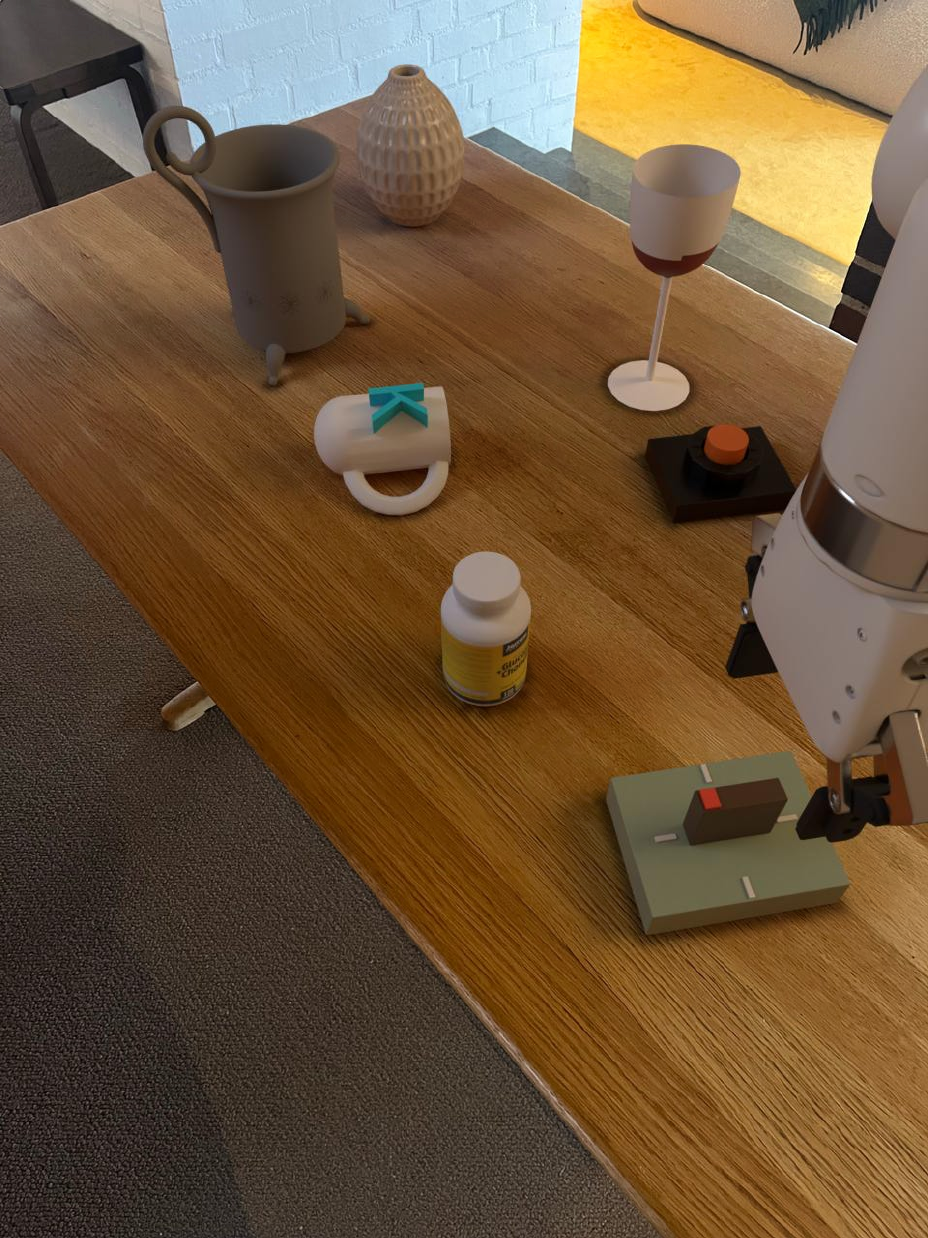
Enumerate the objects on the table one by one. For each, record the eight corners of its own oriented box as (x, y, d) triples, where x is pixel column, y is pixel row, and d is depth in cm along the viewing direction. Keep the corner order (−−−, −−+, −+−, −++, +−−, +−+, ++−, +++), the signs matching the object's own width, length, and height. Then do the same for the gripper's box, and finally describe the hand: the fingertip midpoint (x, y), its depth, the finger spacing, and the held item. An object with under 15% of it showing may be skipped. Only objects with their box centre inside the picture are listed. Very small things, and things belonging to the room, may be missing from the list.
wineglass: (587, 393, 97) (613, 178, 80) (632, 347, 102) (666, 134, 84) (665, 425, 93) (709, 208, 76) (708, 375, 98) (758, 161, 81)
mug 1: (350, 287, 109) (324, 46, 90) (391, 360, 100) (371, 111, 81) (185, 322, 105) (121, 77, 85) (213, 401, 96) (147, 149, 77)
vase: (341, 213, 119) (325, 69, 107) (418, 179, 125) (412, 38, 112) (408, 253, 113) (400, 105, 101) (486, 215, 119) (488, 71, 106)
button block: (755, 443, 92) (765, 410, 89) (791, 508, 86) (803, 475, 83) (644, 456, 91) (650, 423, 87) (673, 523, 85) (681, 490, 82)
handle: (761, 811, 64) (779, 775, 60) (770, 833, 63) (789, 797, 59) (682, 824, 63) (695, 788, 59) (689, 846, 62) (703, 811, 58)
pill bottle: (487, 725, 72) (490, 628, 63) (425, 678, 74) (419, 578, 65) (543, 673, 75) (553, 573, 66) (481, 629, 77) (482, 528, 68)
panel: (780, 771, 69) (791, 748, 67) (837, 903, 63) (852, 883, 60) (605, 799, 68) (610, 776, 65) (645, 936, 61) (653, 917, 59)
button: (736, 437, 87) (740, 421, 85) (750, 463, 85) (755, 448, 83) (698, 441, 86) (701, 426, 85) (711, 468, 84) (715, 452, 83)
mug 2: (304, 372, 82) (442, 359, 84) (313, 422, 91) (438, 409, 92) (318, 498, 79) (461, 482, 81) (326, 537, 88) (455, 522, 89)
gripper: (1139, 671, 31) (936, 891, 44) (896, 357, 42) (791, 609, 55) (924, 703, 30) (782, 918, 43) (733, 374, 41) (666, 626, 54)
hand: (787, 745), depth 49 cm, fingers open, 9 cm apart
